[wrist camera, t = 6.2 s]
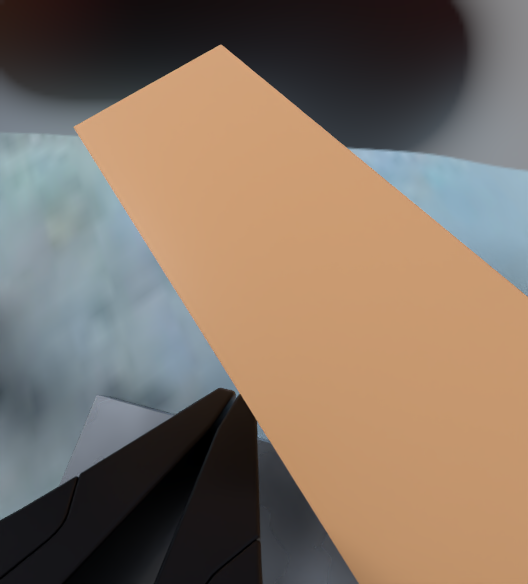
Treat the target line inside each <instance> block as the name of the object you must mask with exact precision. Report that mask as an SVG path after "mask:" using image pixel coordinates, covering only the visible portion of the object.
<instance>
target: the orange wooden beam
mask: <svg viewBox="0 0 528 584" xmlns="http://www.w3.org/2000/svg"><path fill="white" fill-rule="evenodd" d="M74 129H75V130H76V132H77V134H78V135H79V137H80V138H81V140H82V142H83V143H84V145H85V146H86V148H87V150H88V151H89V153H90V154H91V156H92V158H93V159H94V161H95V162H96V164H97V166H98V167H99V169H100V170H101V172H102V174H103V175H104V177H105V178H106V180H107V182H108V183H109V185H110V186H111V188H112V190H113V191H114V193H115V194H116V196H117V198H118V199H119V201H120V202H121V204H122V206H123V207H124V209H125V210H126V212H127V214H128V215H129V217H130V218H131V220H132V222H133V223H134V225H135V226H136V228H137V229H138V231H139V233H140V234H141V236H142V237H143V239H144V241H145V242H146V244H147V245H148V247H149V249H150V250H151V252H152V253H153V255H154V257H155V258H156V260H157V261H158V263H159V265H160V266H161V268H162V269H163V271H164V273H165V274H166V276H167V277H168V279H169V281H170V282H171V284H172V285H173V287H174V289H175V290H176V292H177V293H178V295H179V297H180V298H181V300H182V301H183V303H184V305H185V306H186V308H187V309H188V311H189V313H190V314H191V316H192V317H193V319H194V321H195V322H196V324H197V325H198V327H199V329H200V330H201V332H202V333H203V335H204V337H205V338H206V340H207V341H208V343H209V345H210V346H211V348H212V349H213V351H214V353H215V354H216V356H217V357H218V359H219V361H220V362H221V364H222V365H223V367H224V369H225V370H226V372H227V373H228V375H229V377H230V378H231V380H232V381H233V383H234V385H235V386H236V388H237V389H238V391H239V393H240V394H241V396H242V397H243V399H244V401H245V402H246V404H247V405H248V407H249V409H250V410H251V412H252V413H253V415H254V417H255V418H256V420H257V421H258V423H259V425H260V426H261V428H262V429H263V431H264V433H265V434H266V436H267V437H268V439H269V441H270V442H271V444H272V445H273V447H274V449H275V450H276V452H277V453H278V455H279V457H280V458H281V460H282V461H283V463H284V465H285V466H286V468H287V469H288V471H289V473H290V474H291V476H292V477H293V479H294V481H295V482H296V484H297V485H298V487H299V489H300V490H301V492H302V493H303V495H304V497H305V498H306V500H307V501H308V503H309V505H310V506H311V508H312V509H313V511H314V513H315V514H316V516H317V517H318V519H319V521H320V522H321V524H322V525H323V527H324V529H325V530H326V532H327V533H328V535H329V537H330V538H331V540H332V541H333V543H334V545H335V546H336V548H337V549H338V551H339V553H340V554H341V556H342V557H343V559H344V561H345V562H346V564H347V565H348V567H349V568H350V570H351V572H352V573H353V575H354V576H355V578H356V580H357V581H358V583H359V584H528V297H527V296H526V295H525V294H524V293H522V292H521V291H520V290H519V289H518V288H516V287H515V286H514V285H513V284H511V283H510V282H509V281H508V280H507V279H505V278H504V277H503V276H502V275H500V274H499V273H498V272H497V271H496V270H494V269H493V268H492V267H491V266H490V265H488V264H487V263H486V262H485V261H483V260H482V259H481V258H480V257H479V256H477V255H476V254H475V253H474V252H473V251H471V250H470V249H469V248H468V247H466V246H465V245H464V244H463V243H462V242H460V241H459V240H458V239H457V238H456V237H454V236H453V235H452V234H451V233H449V232H448V231H447V230H446V229H445V228H443V227H442V226H441V225H440V224H439V223H437V222H436V221H435V220H434V219H432V218H431V217H430V216H429V215H428V214H426V213H425V212H424V211H423V210H422V209H420V208H419V207H418V206H417V205H415V204H414V203H413V202H412V201H411V200H409V199H408V198H407V197H406V196H404V195H403V194H402V193H401V192H400V191H398V190H397V189H396V188H395V187H394V186H392V185H391V184H390V183H389V182H387V181H386V180H385V179H384V178H383V177H381V176H380V175H379V174H378V173H377V172H375V171H374V170H373V169H372V168H370V167H369V166H368V165H367V164H366V163H364V162H363V161H362V160H361V159H360V158H358V157H357V156H356V155H355V154H353V153H352V152H351V151H350V150H349V149H347V148H346V147H345V146H344V145H343V144H341V143H340V142H339V141H338V140H336V139H335V138H334V137H333V136H331V135H330V134H329V133H328V132H327V131H325V130H324V129H323V128H322V127H321V126H319V125H318V124H317V123H316V122H315V121H313V120H312V119H311V118H310V117H309V116H307V115H306V114H305V113H303V112H302V111H301V110H300V109H299V108H297V107H296V106H295V105H294V104H293V103H291V102H290V101H289V100H288V99H287V98H285V97H284V96H283V95H282V94H281V93H279V92H278V91H277V90H276V89H274V88H273V87H272V86H271V85H270V84H268V83H267V82H266V81H265V80H264V79H262V78H261V77H260V76H259V75H257V74H256V73H255V72H254V71H253V70H251V69H250V68H249V67H248V66H247V65H245V64H244V63H243V62H242V61H240V60H239V59H238V58H237V57H236V56H234V55H233V54H232V53H231V52H229V51H228V50H227V49H226V48H225V47H223V46H222V45H219V46H218V47H216V48H214V49H212V50H210V51H209V52H207V53H205V54H203V55H201V56H200V57H198V58H196V59H194V60H193V61H191V62H189V63H187V64H185V65H184V66H182V67H180V68H178V69H176V70H175V71H173V72H171V73H169V74H167V75H166V76H164V77H162V78H160V79H158V80H157V81H155V82H153V83H151V84H149V85H148V86H146V87H144V88H142V89H141V90H139V91H137V92H135V93H133V94H132V95H130V96H128V97H126V98H124V99H123V100H121V101H119V102H117V103H116V104H114V105H112V106H110V107H108V108H107V109H105V110H103V111H101V112H100V113H98V114H96V115H94V116H92V117H90V118H89V119H87V120H85V121H83V122H82V123H80V124H78V125H76V126H74Z"/></svg>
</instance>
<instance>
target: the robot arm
mask: <svg viewBox="0 0 528 584" xmlns="http://www.w3.org/2000/svg"><path fill="white" fill-rule="evenodd" d="M260 538H261V533H260V501H259V469H258V438H257V420H256V418H255V417H254V415H253V413H252V412H251V410H250V409H249V407H248V405H247V404H246V402H245V401H244V399H243V397H242V396H241V394H239V395H238V397H237V398H236V394H235V392H234V391H232V390H228V389H224V388H218V389H216V390H215V391H213V392H211V393H210V394H208V395H206V396H205V397H203V398H202V399H200V400H198V401H197V402H195V403H193V404H192V405H190V406H189V407H187V408H185V409H184V410H182V411H180V412H179V413H177V414H176V415H174V416H172V417H171V418H169V419H168V420H166V421H164V422H163V423H161V424H159V425H158V426H156V427H155V428H153V429H151V430H150V431H148V432H146V433H145V434H143V435H142V436H140V437H138V438H137V439H135V440H133V441H132V442H130V443H129V444H127V445H125V446H124V447H122V448H121V449H119V450H117V451H116V452H114V453H112V454H111V455H109V456H108V457H106V458H104V459H103V460H101V461H99V462H98V463H96V464H95V465H93V466H91V467H90V468H88V469H86V470H85V471H83V472H82V473H80V475H79V477H78V476H75V477H73V478H72V479H70V480H68V481H67V482H65V483H63V484H62V485H60V486H59V487H57V488H55V489H54V490H52V491H50V492H49V493H47V494H45V495H44V496H42V497H40V498H39V499H37V500H35V501H33V502H32V503H30V504H28V505H27V506H25V507H23V508H22V509H20V510H18V511H16V512H14V513H13V514H11V515H9V516H7V517H5V518H3V519H2V520H0V584H263V579H262V558H261V542H260Z"/></svg>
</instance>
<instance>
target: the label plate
mask: <svg viewBox="0 0 528 584" xmlns="http://www.w3.org/2000/svg"><path fill="white" fill-rule="evenodd" d="M174 415H175V414H171V413H167V412H164V411H160V410H156V409H153V408H149V407H146V406H142V405H138V404H135V403H131V402H127V401H124V400H120V399H117V398H113V397H109V396H101V395H97V396H96V398H95V400H94V403H93V405H92V408H91V410H90V412H89V415H88V417H87V420H86V422H85V425H84V427H83V429H82V432H81V434H80V437H79V439H78V442H77V444H76V446H75V449H74V451H73V454H72V456H71V459H70V461H69V463H68V466H67V468H66V471H65V473H64V476H63V478H62V480H61V483H60V485H62V484H63V483H65V482H67V481H68V480H70V479H72V478H73V477H75V476H78V477H79V475H80V473H82V472H83V471H85V470H86V469H88V468H90V467H91V466H93V465H95V464H96V463H98V462H99V461H101V460H103V459H104V458H106V457H108V456H109V455H111V454H112V453H114V452H116V451H117V450H119V449H121V448H122V447H124V446H125V445H127V444H129V443H130V442H132V441H133V440H135V439H137V438H138V437H140V436H142V435H143V434H145V433H146V432H148V431H150V430H151V429H153V428H155V427H156V426H158V425H159V424H161V423H163V422H164V421H166V420H168V419H169V418H171V417H172V416H174ZM257 438H258V437H257ZM258 469H259V501H260V533H261V538H260V542H261V558H262V579H263V584H359V583H358V581H357V580H356V578H355V576H354V575H353V573H352V572H351V570H350V568H349V567H348V565H347V564H346V562H345V561H344V559H343V557H342V556H341V554H340V553H339V551H338V549H337V548H336V546H335V545H334V543H333V541H332V540H331V538H330V537H329V535H328V533H327V532H326V530H325V529H324V527H323V525H322V524H321V522H320V521H319V519H318V517H317V516H316V514H315V513H314V511H313V509H312V508H311V506H310V505H309V503H308V501H307V500H306V498H305V497H304V495H303V493H302V492H301V490H300V489H299V487H298V485H297V484H296V482H295V481H294V479H293V477H292V476H291V474H290V473H289V471H288V469H287V468H286V466H285V465H284V463H283V461H282V460H281V458H280V457H279V455H278V453H277V452H276V450H275V449H274V447H273V445H272V444H271V442H270V441H269V440H265V439H261V438H258ZM60 485H59V486H60Z"/></svg>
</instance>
